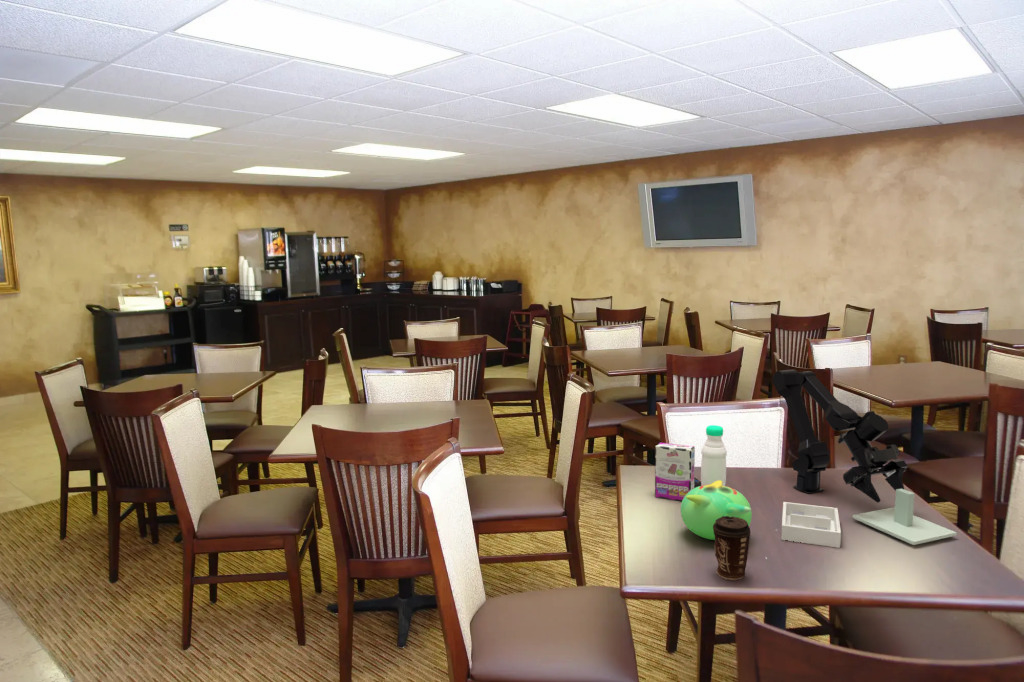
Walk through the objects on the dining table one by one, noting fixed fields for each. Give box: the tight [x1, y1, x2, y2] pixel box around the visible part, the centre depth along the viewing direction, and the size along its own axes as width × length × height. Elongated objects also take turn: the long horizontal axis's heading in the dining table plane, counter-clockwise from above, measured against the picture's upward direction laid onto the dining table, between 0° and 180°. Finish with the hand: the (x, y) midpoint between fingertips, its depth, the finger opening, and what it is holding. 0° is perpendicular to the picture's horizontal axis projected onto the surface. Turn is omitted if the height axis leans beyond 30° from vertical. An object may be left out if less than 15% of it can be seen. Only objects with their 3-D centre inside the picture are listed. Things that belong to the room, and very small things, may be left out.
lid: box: [852, 488, 958, 546], centre depth 190 cm, size 15×19×11 cm
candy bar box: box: [654, 442, 696, 502], centre depth 216 cm, size 11×5×16 cm, turn 62°
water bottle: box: [700, 424, 728, 486], centre depth 205 cm, size 7×7×25 cm
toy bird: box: [680, 480, 753, 541], centre depth 186 cm, size 18×17×15 cm
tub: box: [780, 501, 842, 549], centre depth 191 cm, size 14×18×4 cm
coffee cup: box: [713, 516, 751, 581], centre depth 166 cm, size 9×8×13 cm
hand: (891, 499), depth 193 cm, fingers open, 9 cm apart
